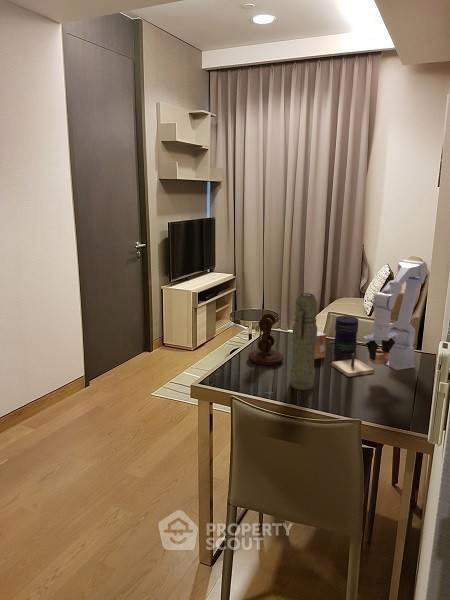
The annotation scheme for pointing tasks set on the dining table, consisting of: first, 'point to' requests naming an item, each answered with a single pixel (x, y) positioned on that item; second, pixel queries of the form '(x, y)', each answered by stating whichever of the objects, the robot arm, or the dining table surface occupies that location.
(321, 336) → the small box
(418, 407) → the dining table surface
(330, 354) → the dining table surface
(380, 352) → the bead
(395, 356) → the robot arm
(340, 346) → the storage jar
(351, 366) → the lacing board
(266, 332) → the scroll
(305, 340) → the grey-green tall column
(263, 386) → the dining table surface
